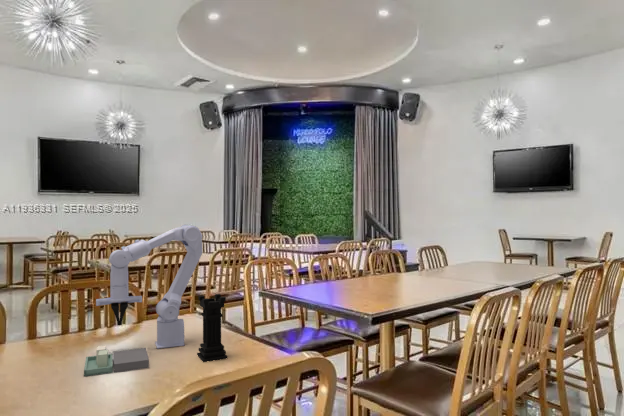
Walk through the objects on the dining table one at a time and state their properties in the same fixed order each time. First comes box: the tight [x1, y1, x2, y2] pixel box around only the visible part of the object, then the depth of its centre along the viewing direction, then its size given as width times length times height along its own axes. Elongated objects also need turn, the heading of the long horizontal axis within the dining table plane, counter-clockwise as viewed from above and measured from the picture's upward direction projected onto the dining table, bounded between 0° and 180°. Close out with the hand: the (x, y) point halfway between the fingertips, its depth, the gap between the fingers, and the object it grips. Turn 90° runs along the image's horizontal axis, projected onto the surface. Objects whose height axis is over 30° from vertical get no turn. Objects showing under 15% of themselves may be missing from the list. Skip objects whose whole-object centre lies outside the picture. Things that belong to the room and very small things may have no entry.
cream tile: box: [95, 345, 107, 365], centre depth 145 cm, size 4×4×2 cm
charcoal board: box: [112, 347, 150, 374], centre depth 145 cm, size 10×14×2 cm
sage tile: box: [98, 349, 109, 368], centre depth 140 cm, size 4×4×2 cm
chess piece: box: [196, 293, 228, 363], centre depth 152 cm, size 8×8×20 cm
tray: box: [83, 353, 114, 377], centre depth 142 cm, size 8×14×2 cm, turn 24°
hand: (119, 324), depth 157 cm, fingers closed
